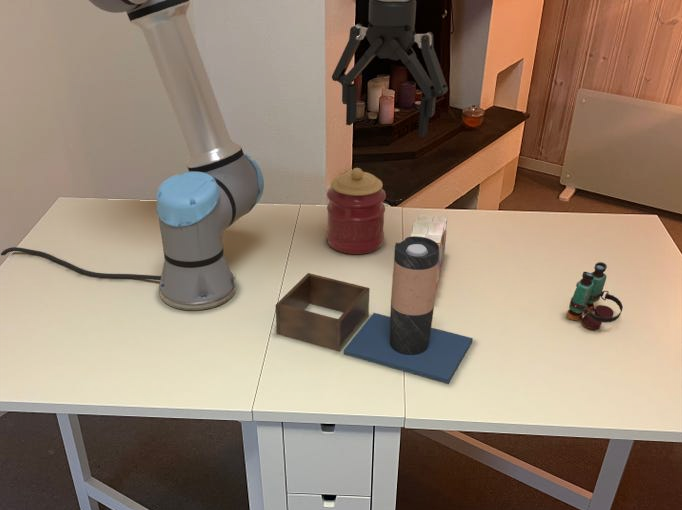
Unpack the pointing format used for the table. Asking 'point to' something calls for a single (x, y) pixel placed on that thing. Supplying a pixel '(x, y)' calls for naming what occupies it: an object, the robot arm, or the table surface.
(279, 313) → the cube shelf
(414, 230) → the stack of blocks
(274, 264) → the table surface
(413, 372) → the mat
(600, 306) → the binoculars
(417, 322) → the travel mug
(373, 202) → the kitchen canister
